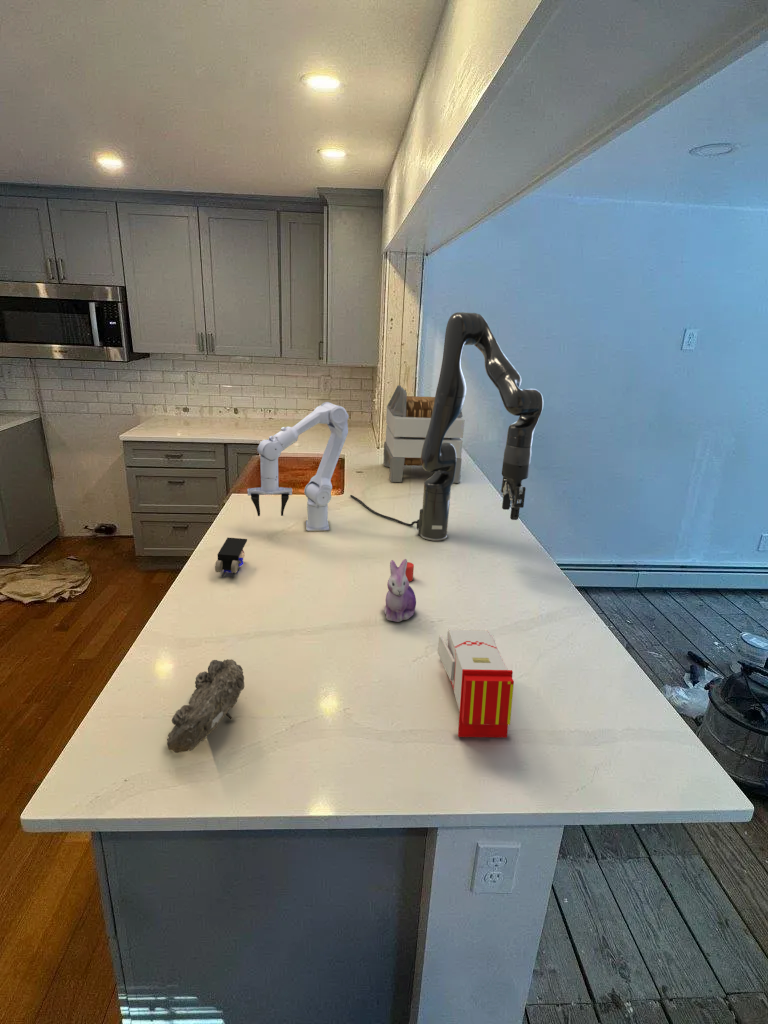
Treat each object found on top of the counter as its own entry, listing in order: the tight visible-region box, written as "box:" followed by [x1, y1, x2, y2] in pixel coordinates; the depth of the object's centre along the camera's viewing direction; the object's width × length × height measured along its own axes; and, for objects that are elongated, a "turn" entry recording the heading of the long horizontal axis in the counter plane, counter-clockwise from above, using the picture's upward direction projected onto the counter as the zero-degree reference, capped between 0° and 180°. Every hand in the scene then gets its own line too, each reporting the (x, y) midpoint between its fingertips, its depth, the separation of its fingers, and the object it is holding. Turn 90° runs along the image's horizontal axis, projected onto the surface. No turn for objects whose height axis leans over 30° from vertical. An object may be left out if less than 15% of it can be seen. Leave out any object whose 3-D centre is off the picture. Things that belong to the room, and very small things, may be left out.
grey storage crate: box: [383, 384, 465, 484], centre depth 268 cm, size 34×33×41 cm
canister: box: [405, 561, 415, 583], centre depth 166 cm, size 4×4×5 cm
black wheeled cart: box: [214, 537, 248, 578], centre depth 166 cm, size 7×8×15 cm
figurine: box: [384, 558, 417, 623], centre depth 145 cm, size 9×10×15 cm
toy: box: [437, 628, 515, 738], centre depth 117 cm, size 12×13×30 cm
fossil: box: [166, 658, 245, 754], centre depth 106 cm, size 22×10×15 cm
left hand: (270, 515), depth 192 cm, fingers open, 7 cm apart
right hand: (509, 514), depth 166 cm, fingers open, 8 cm apart
